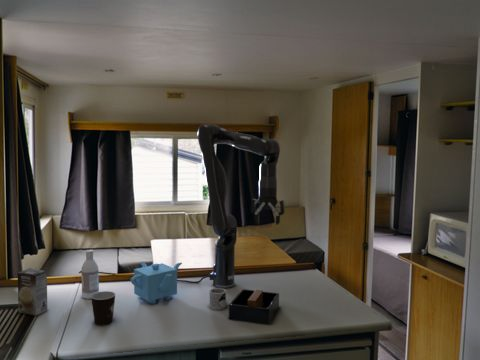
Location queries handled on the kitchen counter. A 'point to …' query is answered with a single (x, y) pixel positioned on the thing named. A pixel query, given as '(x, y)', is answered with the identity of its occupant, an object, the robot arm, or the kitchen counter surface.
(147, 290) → the teakettle
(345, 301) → the kitchen counter surface
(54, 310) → the kitchen counter surface
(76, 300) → the kitchen counter surface
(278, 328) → the kitchen counter surface
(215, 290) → the mug
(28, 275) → the coffee box
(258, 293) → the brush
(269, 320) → the black open box
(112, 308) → the coffee mug
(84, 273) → the bath foam
